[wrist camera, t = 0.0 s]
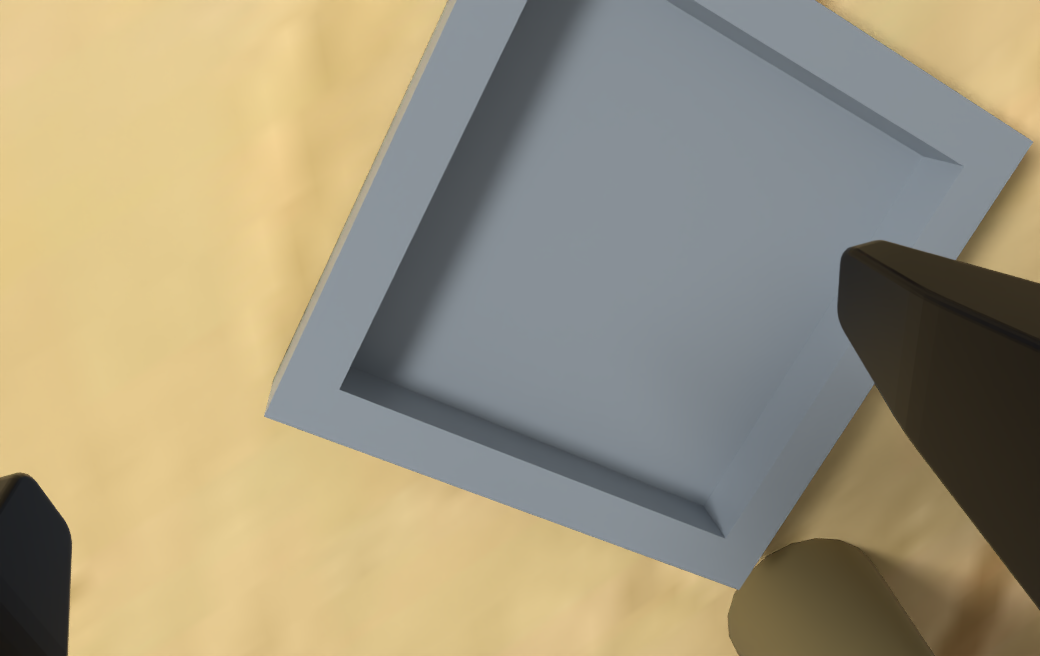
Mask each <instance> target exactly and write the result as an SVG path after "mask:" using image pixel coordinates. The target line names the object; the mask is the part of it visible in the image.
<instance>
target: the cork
mask: <svg viewBox="0 0 1040 656" xmlns="http://www.w3.org/2000/svg"><path fill="white" fill-rule="evenodd" d="M728 627H729V637H730V639H731V641H732V643H733V645H734V647H735V649H736V651H737V653H738V654H739V656H935V655H934V654H933V652H932V651H931V649H930V648H929V646H928V645H927V643H926V642H925V640H924V639H923V637H922V636H921V634H920V633H919V631H918V630H917V628H916V627H915V625H914V624H913V622H912V621H911V619H910V618H909V616H908V615H907V613H906V612H905V610H904V609H903V607H902V606H901V604H900V603H899V601H898V600H897V598H896V597H895V595H894V594H893V592H892V591H891V589H890V588H889V586H888V585H887V583H886V582H885V580H884V579H883V577H882V576H881V574H880V573H879V571H878V570H877V568H876V567H875V565H874V564H873V562H872V561H871V560H870V559H869V558H868V557H867V556H866V555H865V554H864V553H863V552H862V551H861V550H860V549H859V548H857V547H855V546H852V545H850V544H847V543H845V542H843V541H840V540H831V539H811V540H807V541H803V542H798V543H794V544H790V545H788V546H786V547H784V548H783V549H781V550H779V551H777V552H775V553H773V554H771V555H769V556H767V557H766V558H765V559H764V560H763V561H762V562H760V563H759V564H758V565H757V566H756V567H755V568H754V569H753V570H752V571H751V573H750V574H749V576H748V577H747V579H746V580H745V582H744V583H743V585H742V586H741V588H740V589H739V590H737V591H736V592H735V594H734V597H733V600H732V603H731V607H730V610H729V613H728Z"/></svg>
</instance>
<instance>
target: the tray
mask: <svg viewBox="0 0 1040 656" xmlns="http://www.w3.org/2000/svg"><path fill="white" fill-rule="evenodd" d="M1032 143H1033V141H1031V140H1030V139H1028V138H1027V137H1025V136H1024V135H1022V134H1020V133H1019V132H1017V131H1016V130H1014V129H1013V128H1011V127H1010V126H1008V125H1007V124H1005V123H1004V122H1002V121H1000V120H999V119H997V118H996V117H994V116H993V115H991V114H990V113H988V112H987V111H985V110H983V109H982V108H980V107H979V106H977V105H976V104H974V103H973V102H971V101H970V100H968V99H966V98H965V97H963V96H962V95H960V94H959V93H957V92H956V91H954V90H953V89H951V88H950V87H948V86H946V85H945V84H943V83H942V82H940V81H939V80H937V79H936V78H934V77H933V76H931V75H929V74H928V73H926V72H925V71H923V70H922V69H920V68H919V67H917V66H916V65H914V64H912V63H911V62H909V61H908V60H906V59H905V58H903V57H902V56H900V55H899V54H897V53H896V52H894V51H892V50H891V49H889V48H888V47H886V46H885V45H883V44H882V43H880V42H879V41H877V40H875V39H874V38H872V37H871V36H869V35H868V34H866V33H865V32H863V31H862V30H860V29H858V28H857V27H855V26H854V25H852V24H851V23H849V22H848V21H846V20H845V19H843V18H842V17H840V16H838V15H837V14H835V13H834V12H832V11H831V10H829V9H828V8H826V7H825V6H823V5H821V4H820V3H818V2H817V1H815V0H448V2H447V4H446V6H445V8H444V10H443V13H442V15H441V17H440V19H439V21H438V23H437V26H436V28H435V30H434V32H433V34H432V36H431V39H430V41H429V43H428V45H427V47H426V49H425V52H424V54H423V56H422V58H421V60H420V63H419V65H418V67H417V69H416V71H415V73H414V76H413V78H412V80H411V82H410V84H409V86H408V89H407V91H406V93H405V95H404V97H403V99H402V102H401V104H400V106H399V108H398V110H397V112H396V115H395V117H394V119H393V121H392V123H391V126H390V128H389V130H388V132H387V134H386V136H385V139H384V141H383V143H382V145H381V147H380V149H379V152H378V154H377V156H376V158H375V160H374V162H373V165H372V167H371V169H370V171H369V173H368V175H367V178H366V180H365V182H364V184H363V186H362V189H361V191H360V193H359V195H358V197H357V199H356V202H355V204H354V206H353V208H352V210H351V212H350V215H349V217H348V219H347V221H346V223H345V225H344V228H343V230H342V232H341V234H340V236H339V238H338V241H337V243H336V245H335V247H334V249H333V252H332V254H331V256H330V258H329V260H328V262H327V265H326V267H325V269H324V271H323V273H322V275H321V278H320V280H319V282H318V284H317V286H316V288H315V291H314V293H313V295H312V297H311V299H310V301H309V304H308V306H307V308H306V310H305V312H304V315H303V317H302V319H301V321H300V323H299V325H298V328H297V330H296V332H295V334H294V336H293V338H292V341H291V343H290V345H289V347H288V349H287V351H286V354H285V356H284V358H283V360H282V362H281V365H280V367H279V369H278V371H277V373H276V375H275V378H274V380H273V384H272V388H271V391H270V395H269V399H268V403H267V407H266V411H265V415H264V417H267V418H270V419H272V420H275V421H278V422H281V423H283V424H286V425H289V426H292V427H294V428H297V429H300V430H302V431H305V432H308V433H311V434H313V435H316V436H319V437H322V438H324V439H327V440H330V441H333V442H335V443H338V444H341V445H344V446H346V447H349V448H352V449H354V450H357V451H360V452H363V453H365V454H368V455H371V456H374V457H376V458H379V459H382V460H385V461H387V462H390V463H393V464H395V465H398V466H401V467H404V468H406V469H409V470H412V471H415V472H417V473H420V474H423V475H426V476H428V477H431V478H434V479H437V480H439V481H442V482H445V483H447V484H450V485H453V486H456V487H458V488H461V489H464V490H467V491H469V492H472V493H475V494H478V495H480V496H483V497H486V498H488V499H491V500H494V501H497V502H499V503H502V504H505V505H508V506H510V507H513V508H516V509H519V510H521V511H524V512H527V513H529V514H532V515H535V516H538V517H540V518H543V519H546V520H549V521H551V522H554V523H557V524H560V525H562V526H565V527H568V528H571V529H573V530H576V531H579V532H581V533H584V534H587V535H590V536H592V537H595V538H598V539H601V540H603V541H606V542H609V543H612V544H614V545H617V546H620V547H622V548H625V549H628V550H631V551H633V552H636V553H639V554H642V555H644V556H647V557H650V558H653V559H655V560H658V561H661V562H664V563H666V564H669V565H672V566H674V567H677V568H680V569H683V570H685V571H688V572H691V573H694V574H696V575H699V576H702V577H705V578H707V579H710V580H713V581H715V582H718V583H721V584H724V585H726V586H729V587H732V588H735V589H737V590H739V589H740V588H741V586H742V585H743V583H744V582H745V580H746V579H747V577H748V576H749V574H750V573H751V571H752V570H753V568H754V566H755V565H756V563H757V562H758V560H759V559H760V557H761V556H762V554H763V553H764V551H765V550H766V548H767V547H768V545H769V544H770V542H771V541H772V539H773V538H774V536H775V535H776V533H777V531H778V530H779V528H780V527H781V525H782V524H783V522H784V521H785V519H786V518H787V516H788V515H789V513H790V512H791V510H792V509H793V507H794V506H795V504H796V503H797V501H798V499H799V498H800V496H801V495H802V493H803V492H804V490H805V489H806V487H807V486H808V484H809V483H810V481H811V480H812V478H813V477H814V475H815V474H816V472H817V471H818V469H819V467H820V466H821V464H822V463H823V461H824V460H825V458H826V457H827V455H828V454H829V452H830V451H831V449H832V448H833V446H834V445H835V443H836V442H837V440H838V439H839V437H840V436H841V434H842V432H843V431H844V429H845V428H846V426H847V425H848V423H849V422H850V420H851V419H852V417H853V416H854V414H855V413H856V411H857V410H858V408H859V407H860V405H861V404H862V402H863V400H864V399H865V397H866V396H867V394H868V393H869V391H870V390H871V388H872V387H873V385H874V384H875V383H874V382H873V380H872V378H871V377H870V375H869V373H868V372H867V370H866V368H865V366H864V365H863V363H862V361H861V360H860V358H859V356H858V355H857V353H856V351H855V350H854V348H853V346H852V345H851V343H850V341H849V340H848V338H847V336H846V335H845V333H844V331H843V329H842V327H841V325H840V322H839V319H838V314H837V299H838V284H839V269H840V260H841V256H842V254H843V252H844V251H845V250H846V249H847V248H849V247H852V246H855V245H859V244H863V243H866V242H870V241H874V240H885V241H889V242H892V243H896V244H900V245H903V246H907V247H910V248H914V249H917V250H921V251H925V252H928V253H932V254H935V255H939V256H943V257H946V258H950V259H953V260H956V259H957V257H958V256H959V254H960V253H961V251H962V250H963V248H964V247H965V245H966V244H967V242H968V241H969V239H970V238H971V236H972V234H973V233H974V231H975V230H976V228H977V227H978V225H979V224H980V222H981V221H982V219H983V218H984V216H985V215H986V213H987V212H988V210H989V209H990V207H991V206H992V204H993V202H994V201H995V199H996V198H997V196H998V195H999V193H1000V192H1001V190H1002V189H1003V187H1004V186H1005V184H1006V183H1007V181H1008V180H1009V178H1010V177H1011V175H1012V174H1013V172H1014V171H1015V169H1016V167H1017V166H1018V164H1019V163H1020V161H1021V160H1022V158H1023V157H1024V155H1025V154H1026V152H1027V151H1028V149H1029V148H1030V146H1031V145H1032Z"/></svg>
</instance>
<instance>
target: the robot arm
mask: <svg viewBox="0 0 1040 656" xmlns="http://www.w3.org/2000/svg"><path fill="white" fill-rule="evenodd" d="M837 314H838V319H839V322H840V325H841V327H842V329H843V331H844V333H845V335H846V336H847V338H848V340H849V341H850V343H851V345H852V346H853V348H854V350H855V351H856V353H857V355H858V356H859V358H860V360H861V361H862V363H863V365H864V366H865V368H866V370H867V372H868V373H869V375H870V377H871V378H872V380H873V382H874V383H875V385H876V387H877V388H878V390H879V392H880V393H881V395H882V397H883V398H884V400H885V402H886V403H887V405H888V407H889V409H890V410H891V412H892V414H893V415H894V417H895V418H896V420H897V422H898V423H899V425H900V426H901V428H902V429H903V431H904V432H905V434H906V435H907V437H908V438H909V439H910V441H911V442H912V443H913V445H914V446H915V448H916V449H917V450H918V452H919V453H920V454H921V456H922V457H923V458H924V459H925V461H926V462H927V463H928V465H929V466H930V467H931V469H932V470H933V471H934V473H935V474H936V475H937V476H938V478H939V479H940V480H941V482H942V483H943V484H944V486H945V487H946V488H947V490H948V491H949V492H950V493H951V495H952V496H953V497H954V499H955V500H956V501H957V503H958V504H959V505H960V507H961V508H962V509H963V511H964V512H965V513H966V514H967V516H968V517H969V518H970V520H971V521H972V522H973V524H974V525H975V526H976V528H977V529H978V530H979V531H980V533H981V534H982V535H983V537H984V538H985V539H986V541H987V542H988V543H989V545H990V546H991V547H992V548H993V550H994V551H995V552H996V554H997V555H998V556H999V558H1000V559H1001V560H1002V562H1003V563H1004V564H1005V565H1006V567H1007V568H1008V569H1009V571H1010V572H1011V573H1012V575H1013V576H1014V577H1015V579H1016V580H1017V581H1018V582H1019V584H1020V585H1021V586H1022V588H1023V589H1024V590H1025V592H1026V593H1027V594H1028V596H1029V597H1030V598H1031V599H1032V601H1033V602H1034V603H1035V605H1036V606H1037V607H1038V609H1039V610H1040V283H1036V282H1033V281H1029V280H1025V279H1022V278H1018V277H1015V276H1011V275H1007V274H1004V273H1000V272H997V271H993V270H989V269H986V268H982V267H979V266H975V265H971V264H968V263H964V262H961V261H957V260H953V259H950V258H946V257H943V256H939V255H935V254H932V253H928V252H925V251H921V250H917V249H914V248H910V247H907V246H903V245H900V244H896V243H892V242H889V241H885V240H874V241H870V242H866V243H863V244H859V245H855V246H852V247H849V248H847V249H846V250H845V251H844V252H843V254H842V256H841V260H840V269H839V284H838V299H837ZM71 558H72V540H71V534H70V531H69V528H68V526H67V524H66V522H65V520H64V519H63V517H62V516H61V515H60V513H59V512H58V511H57V509H56V508H55V507H54V505H53V504H52V502H51V501H50V500H49V498H48V497H47V496H46V494H45V493H44V492H43V490H42V489H41V487H40V486H39V485H38V483H37V482H36V481H35V480H34V479H33V478H32V477H31V476H29V475H28V474H25V473H15V474H11V475H7V476H4V477H0V656H68V637H69V611H70V584H71Z"/></svg>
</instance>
